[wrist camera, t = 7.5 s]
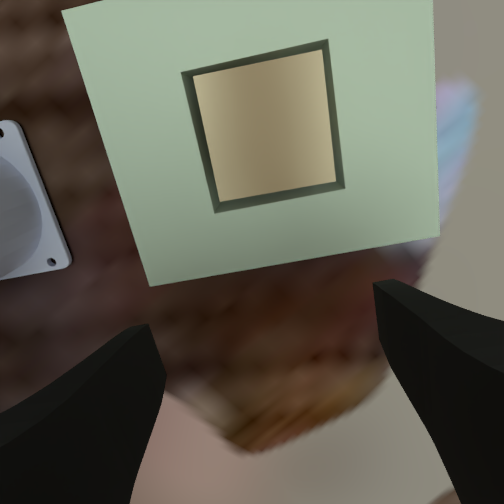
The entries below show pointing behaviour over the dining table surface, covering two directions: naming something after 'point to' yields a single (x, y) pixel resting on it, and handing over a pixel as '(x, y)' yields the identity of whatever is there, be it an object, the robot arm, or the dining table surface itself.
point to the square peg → (267, 126)
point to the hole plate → (195, 144)
